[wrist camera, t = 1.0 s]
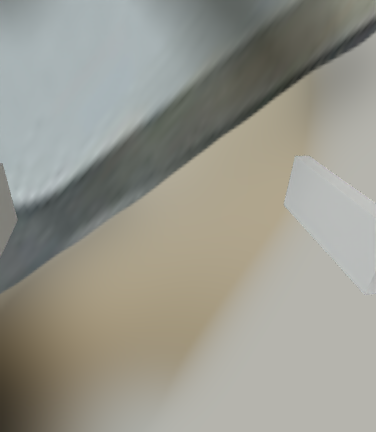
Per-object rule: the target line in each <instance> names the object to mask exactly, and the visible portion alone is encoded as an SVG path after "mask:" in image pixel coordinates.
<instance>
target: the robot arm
mask: <svg viewBox="0 0 376 432" xmlns="http://www.w3.org/2000/svg"><path fill="white" fill-rule="evenodd" d="M284 206H285V207H286V208H287V209H288V210H289V212H290V213H291V214H292V215H293V216H294V217H295V218H296V219H297V220H298V221H299V223H300V224H301V225H302V226H303V227H304V228H305V229H306V230H307V231H308V233H309V234H310V235H311V236H312V237H313V238H314V239H315V240H316V241H317V243H318V244H319V245H320V246H321V247H322V248H323V249H324V250H325V251H326V253H327V254H328V255H329V256H330V257H331V258H332V259H333V260H334V261H335V263H336V264H337V265H338V266H339V267H340V268H341V269H342V270H343V271H344V272H345V274H346V275H347V276H348V277H349V278H350V279H351V280H352V281H353V282H354V284H355V285H356V286H357V287H358V288H359V289H360V290H361V291H362V292H363V294H364V295H368V294H376V203H375V202H374V201H372V200H371V199H370V198H368V197H367V196H365V195H364V194H363V193H361V192H360V191H358V190H357V189H356V188H354V187H353V186H351V185H350V184H349V183H347V182H346V181H344V180H343V179H342V178H340V177H339V176H337V175H336V174H334V173H333V172H332V171H330V170H329V169H327V168H326V167H325V166H323V165H322V164H320V163H319V162H318V161H316V160H315V159H313V158H312V157H311V156H295V159H294V163H293V167H292V172H291V176H290V181H289V185H288V189H287V193H286V197H285V201H284ZM16 222H17V216H16V212H15V209H14V205H13V201H12V197H11V194H10V190H9V186H8V182H7V178H6V175H5V171H4V167H3V163H0V257H1V255H2V253H3V250H4V248H5V246H6V244H7V242H8V240H9V237H10V235H11V233H12V231H13V229H14V227H15V224H16Z"/></svg>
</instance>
